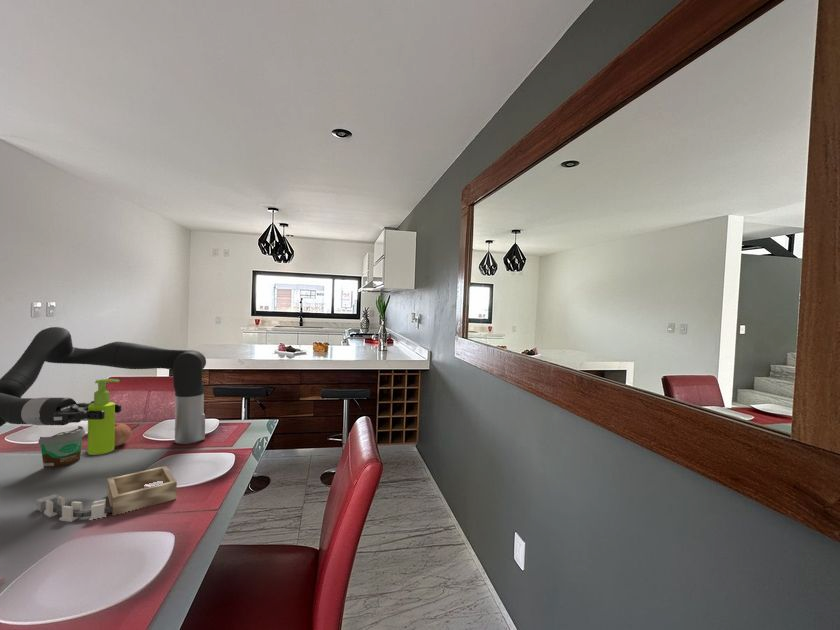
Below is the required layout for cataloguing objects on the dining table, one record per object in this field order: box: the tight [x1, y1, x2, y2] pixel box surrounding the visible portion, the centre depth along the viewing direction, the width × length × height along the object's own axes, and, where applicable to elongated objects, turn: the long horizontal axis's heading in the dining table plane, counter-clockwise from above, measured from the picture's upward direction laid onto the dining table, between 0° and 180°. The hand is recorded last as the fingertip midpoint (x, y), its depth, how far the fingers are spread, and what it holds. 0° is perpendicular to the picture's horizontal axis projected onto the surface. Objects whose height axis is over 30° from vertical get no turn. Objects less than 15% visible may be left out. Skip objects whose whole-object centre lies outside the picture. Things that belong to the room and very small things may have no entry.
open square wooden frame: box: [107, 465, 178, 516], centre depth 106 cm, size 13×13×4 cm
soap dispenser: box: [87, 378, 121, 456], centre depth 112 cm, size 6×7×20 cm
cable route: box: [36, 493, 112, 523], centre depth 97 cm, size 6×19×3 cm, turn 79°
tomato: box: [114, 422, 132, 448], centre depth 141 cm, size 11×11×8 cm
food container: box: [37, 425, 86, 469], centre depth 126 cm, size 12×6×10 cm, turn 168°
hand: (111, 411), depth 112 cm, fingers closed on soap dispenser, 6 cm apart
